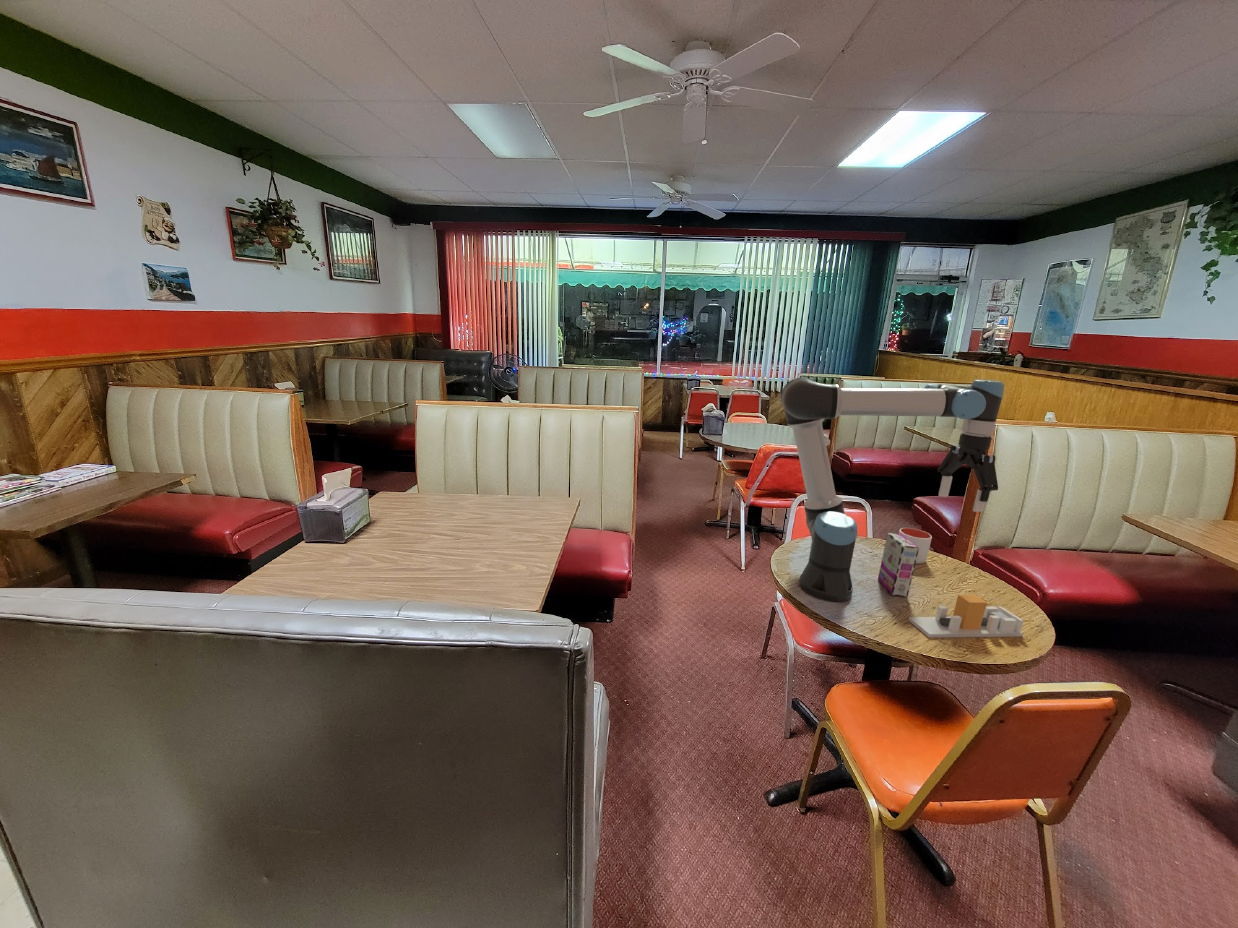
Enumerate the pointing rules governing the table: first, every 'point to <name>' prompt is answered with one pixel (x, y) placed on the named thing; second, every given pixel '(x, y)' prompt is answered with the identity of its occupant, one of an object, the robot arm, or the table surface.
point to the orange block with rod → (971, 612)
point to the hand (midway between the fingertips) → (959, 503)
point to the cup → (918, 542)
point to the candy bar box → (898, 564)
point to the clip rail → (935, 629)
